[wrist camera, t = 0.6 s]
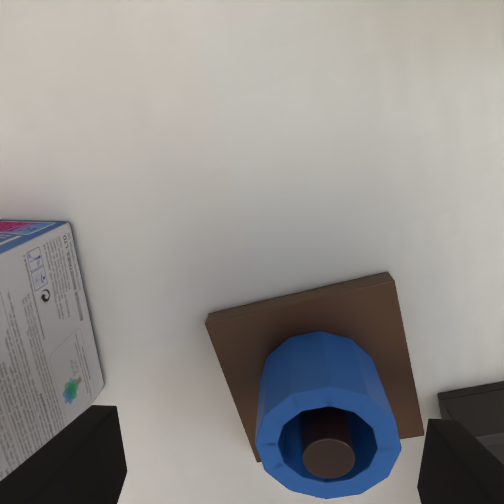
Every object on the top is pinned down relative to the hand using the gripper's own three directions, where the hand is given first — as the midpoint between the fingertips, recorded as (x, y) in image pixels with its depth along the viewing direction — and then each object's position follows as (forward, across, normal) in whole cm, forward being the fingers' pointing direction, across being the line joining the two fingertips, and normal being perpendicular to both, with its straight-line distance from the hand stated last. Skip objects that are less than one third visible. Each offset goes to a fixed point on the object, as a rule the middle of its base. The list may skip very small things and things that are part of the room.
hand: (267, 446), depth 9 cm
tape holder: (+10, -2, +5) cm, 11 cm away
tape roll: (+9, -2, +5) cm, 11 cm away
